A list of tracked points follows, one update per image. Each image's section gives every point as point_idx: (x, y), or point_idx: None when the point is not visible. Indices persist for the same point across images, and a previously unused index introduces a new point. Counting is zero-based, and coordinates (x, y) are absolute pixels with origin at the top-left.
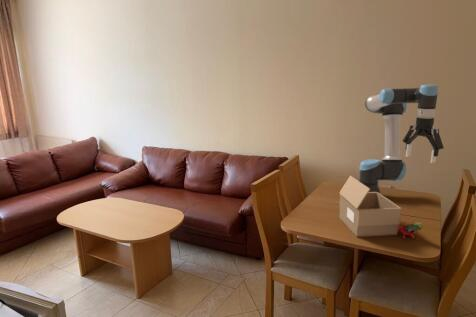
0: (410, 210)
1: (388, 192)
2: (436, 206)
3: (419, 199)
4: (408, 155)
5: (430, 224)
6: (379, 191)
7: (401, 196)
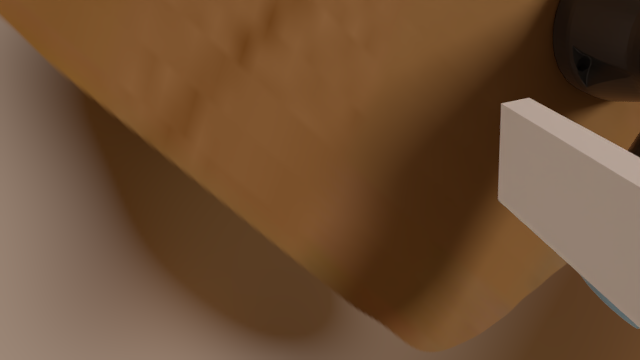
0: (325, 102)
1: None
2: (317, 277)
3: (429, 261)
4: (510, 149)
5: (99, 59)
6: (593, 81)
7: None
